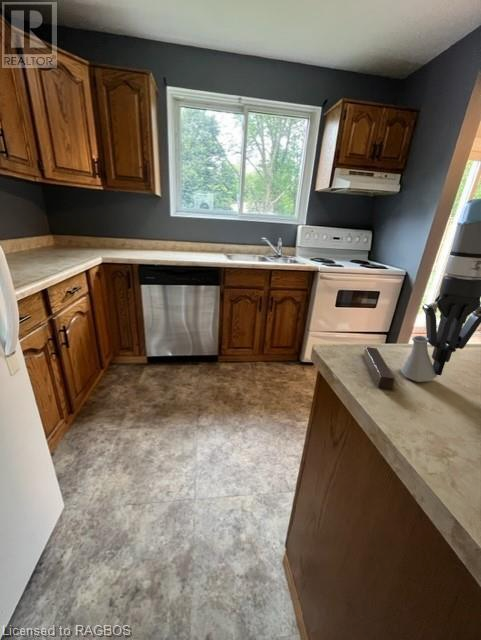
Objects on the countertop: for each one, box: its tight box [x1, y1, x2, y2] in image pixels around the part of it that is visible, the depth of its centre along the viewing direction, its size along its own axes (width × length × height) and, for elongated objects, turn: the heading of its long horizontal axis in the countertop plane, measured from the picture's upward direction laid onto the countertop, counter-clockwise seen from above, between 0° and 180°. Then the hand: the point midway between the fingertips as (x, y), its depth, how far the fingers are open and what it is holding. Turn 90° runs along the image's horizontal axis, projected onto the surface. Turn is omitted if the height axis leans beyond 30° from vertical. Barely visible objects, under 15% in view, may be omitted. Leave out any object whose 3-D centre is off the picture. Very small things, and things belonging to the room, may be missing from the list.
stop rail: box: [363, 346, 396, 390], centre depth 70 cm, size 3×16×3 cm, turn 168°
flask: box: [400, 335, 438, 383], centre depth 67 cm, size 7×7×10 cm
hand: (436, 372), depth 66 cm, fingers closed
